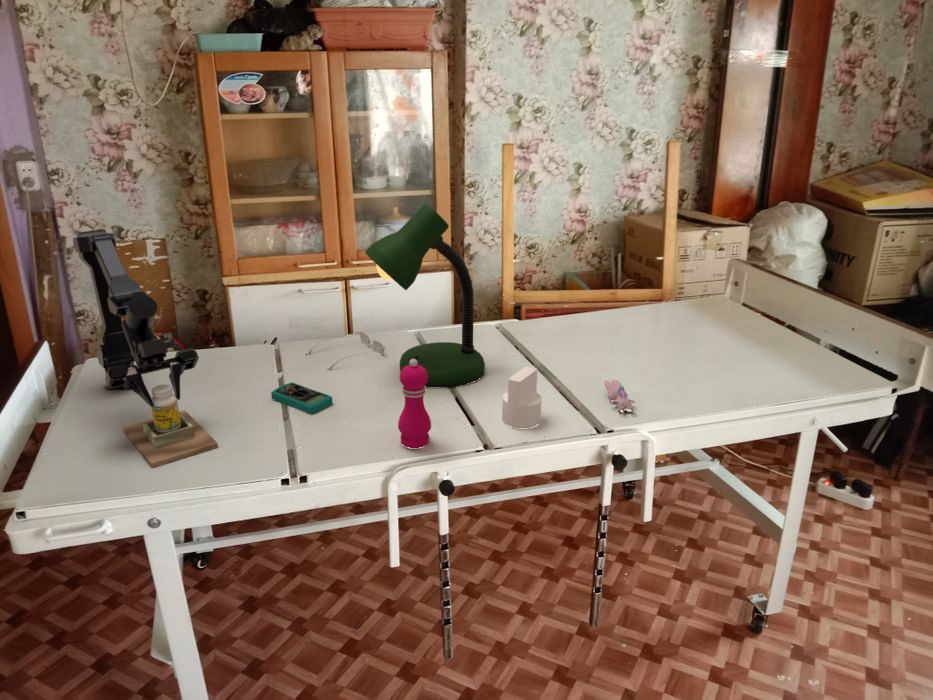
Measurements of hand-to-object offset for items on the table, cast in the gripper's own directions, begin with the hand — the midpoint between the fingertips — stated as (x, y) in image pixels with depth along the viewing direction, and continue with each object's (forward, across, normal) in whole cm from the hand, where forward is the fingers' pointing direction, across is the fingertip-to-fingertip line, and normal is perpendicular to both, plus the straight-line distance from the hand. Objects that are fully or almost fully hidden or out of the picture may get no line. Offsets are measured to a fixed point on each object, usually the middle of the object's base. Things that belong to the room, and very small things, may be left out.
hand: (165, 402), depth 162 cm
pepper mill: (+30, +42, -17) cm, 54 cm away
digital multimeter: (+7, +32, +7) cm, 33 cm away
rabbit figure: (+40, +93, -27) cm, 105 cm away
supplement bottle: (+4, 0, +6) cm, 7 cm away
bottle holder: (+6, 0, +7) cm, 9 cm away
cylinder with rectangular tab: (+35, +68, -22) cm, 79 cm away
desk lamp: (+10, +66, +4) cm, 67 cm away
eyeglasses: (-7, +55, +21) cm, 59 cm away
